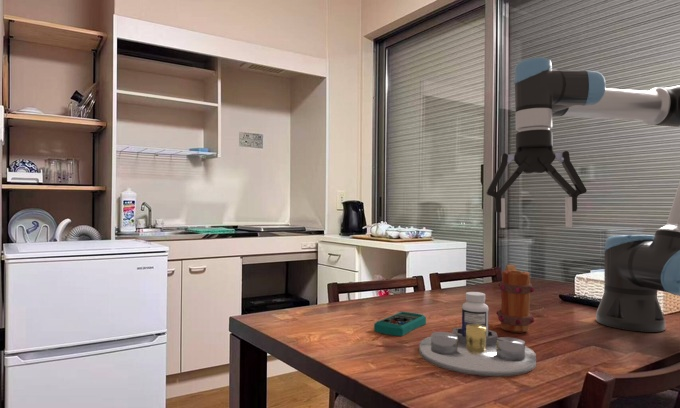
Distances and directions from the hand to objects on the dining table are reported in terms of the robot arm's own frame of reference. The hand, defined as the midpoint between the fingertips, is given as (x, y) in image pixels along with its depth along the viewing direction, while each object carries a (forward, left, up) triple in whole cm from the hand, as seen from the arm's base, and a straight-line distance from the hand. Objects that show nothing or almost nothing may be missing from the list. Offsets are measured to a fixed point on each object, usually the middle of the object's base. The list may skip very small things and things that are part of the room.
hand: (535, 227), depth 103 cm
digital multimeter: (+30, -4, -26) cm, 40 cm away
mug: (+3, -12, -26) cm, 28 cm away
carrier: (+13, +14, -25) cm, 32 cm away
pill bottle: (+13, +7, -24) cm, 28 cm away
